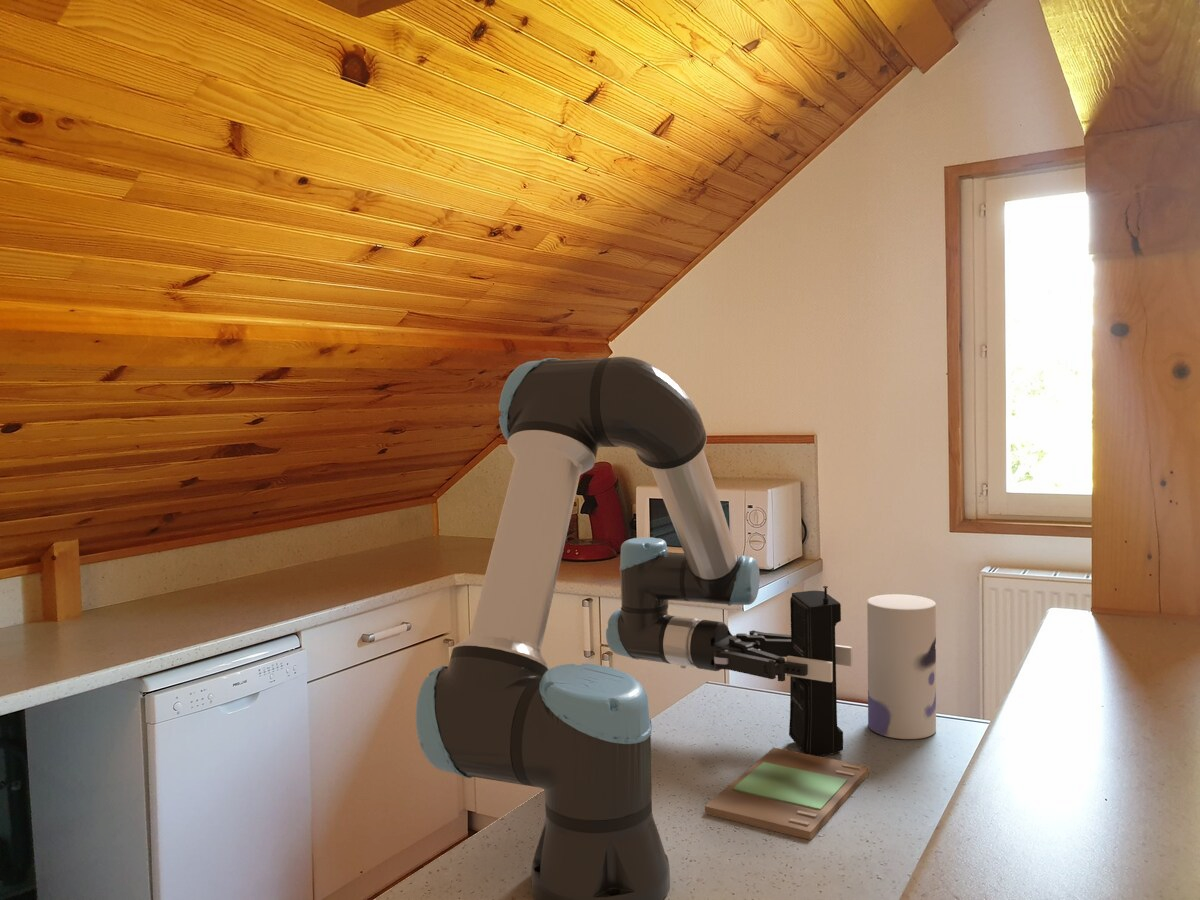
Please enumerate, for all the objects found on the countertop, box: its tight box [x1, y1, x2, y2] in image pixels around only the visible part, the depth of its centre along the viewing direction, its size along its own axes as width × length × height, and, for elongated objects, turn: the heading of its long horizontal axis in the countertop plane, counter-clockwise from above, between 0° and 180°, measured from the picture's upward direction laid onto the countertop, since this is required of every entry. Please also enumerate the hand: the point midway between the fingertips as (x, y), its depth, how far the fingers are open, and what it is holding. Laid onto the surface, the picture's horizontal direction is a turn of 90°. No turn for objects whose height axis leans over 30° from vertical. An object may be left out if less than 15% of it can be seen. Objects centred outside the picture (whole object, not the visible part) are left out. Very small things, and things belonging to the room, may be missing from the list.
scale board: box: [704, 747, 870, 841], centre depth 128 cm, size 22×14×1 cm, turn 147°
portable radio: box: [788, 585, 844, 757], centre depth 141 cm, size 8×6×25 cm
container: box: [866, 593, 937, 740], centre depth 149 cm, size 10×10×20 cm
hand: (841, 664), depth 139 cm, fingers closed on portable radio, 8 cm apart
